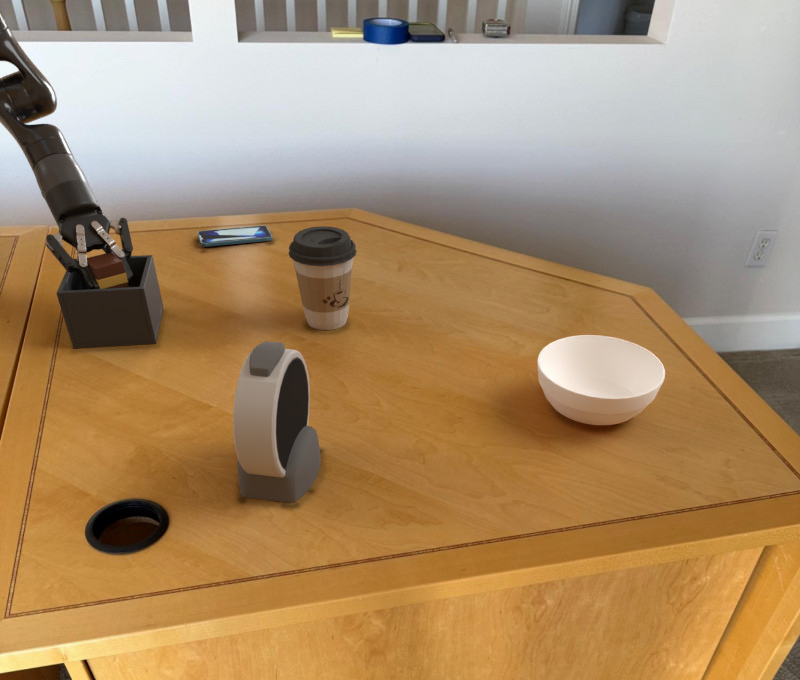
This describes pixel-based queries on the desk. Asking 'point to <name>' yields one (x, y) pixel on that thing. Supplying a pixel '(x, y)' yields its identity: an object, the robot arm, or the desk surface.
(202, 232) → the smartphone
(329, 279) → the coffee cup
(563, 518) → the desk surface
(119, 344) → the trash bin
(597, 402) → the bowl
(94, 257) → the chocolate box
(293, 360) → the alarm clock
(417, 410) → the desk surface
